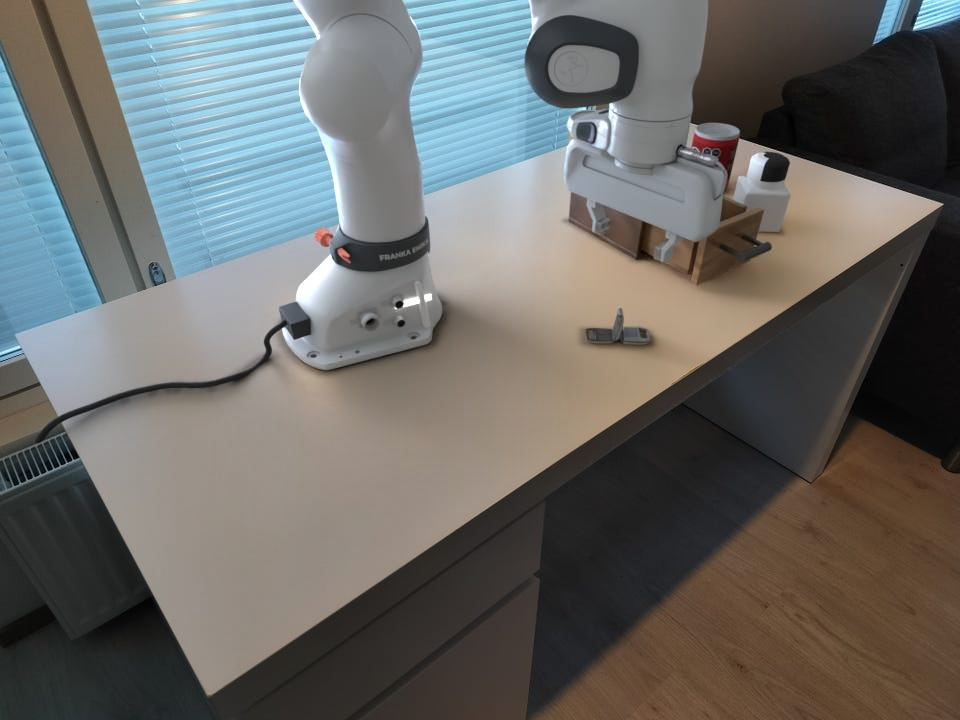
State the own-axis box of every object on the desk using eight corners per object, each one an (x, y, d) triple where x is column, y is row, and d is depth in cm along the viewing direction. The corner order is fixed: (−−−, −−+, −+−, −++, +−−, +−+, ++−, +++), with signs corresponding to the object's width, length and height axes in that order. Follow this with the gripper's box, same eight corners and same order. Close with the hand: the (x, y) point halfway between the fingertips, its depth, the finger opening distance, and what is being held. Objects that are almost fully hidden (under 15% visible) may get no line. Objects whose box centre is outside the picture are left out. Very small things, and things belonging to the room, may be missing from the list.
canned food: (677, 181, 133) (687, 124, 126) (713, 176, 135) (725, 120, 128) (698, 197, 127) (710, 139, 120) (735, 191, 129) (749, 134, 122)
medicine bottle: (770, 214, 121) (788, 148, 114) (780, 233, 116) (800, 165, 108) (729, 212, 122) (744, 147, 115) (736, 231, 116) (753, 163, 109)
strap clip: (647, 332, 94) (652, 306, 91) (650, 345, 91) (655, 319, 89) (585, 330, 94) (588, 304, 92) (586, 343, 92) (589, 317, 89)
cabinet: (694, 236, 115) (706, 176, 109) (636, 259, 109) (645, 198, 103) (624, 201, 126) (632, 145, 119) (568, 221, 120) (573, 163, 113)
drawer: (776, 274, 104) (792, 221, 98) (721, 299, 98) (735, 245, 93) (675, 224, 117) (684, 175, 111) (623, 244, 111) (629, 194, 106)
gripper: (746, 153, 71) (718, 268, 80) (594, 106, 83) (584, 211, 92) (713, 169, 68) (688, 288, 76) (559, 119, 80) (552, 226, 88)
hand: (630, 245), depth 84 cm, fingers open, 8 cm apart
